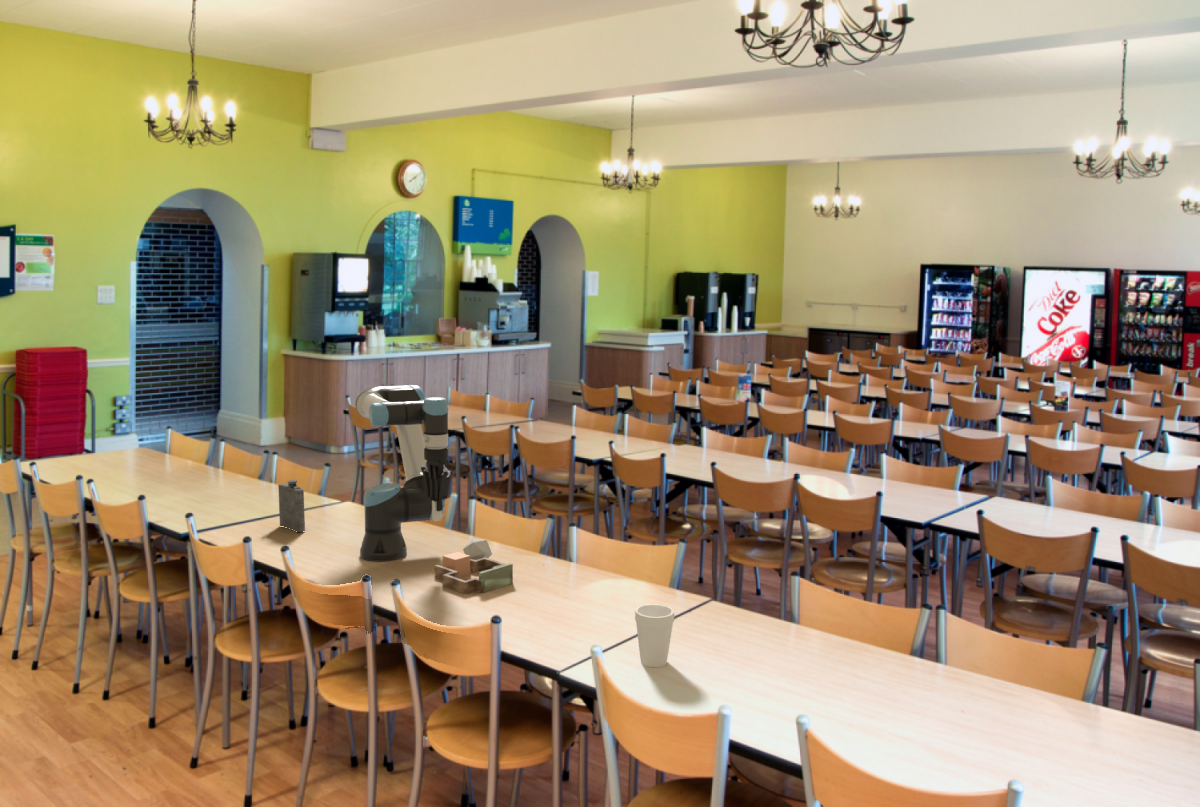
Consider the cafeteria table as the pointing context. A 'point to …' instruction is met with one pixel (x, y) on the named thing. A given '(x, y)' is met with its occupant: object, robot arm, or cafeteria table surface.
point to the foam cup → (654, 633)
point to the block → (457, 563)
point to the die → (477, 549)
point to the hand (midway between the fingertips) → (437, 520)
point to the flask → (291, 506)
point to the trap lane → (489, 576)
